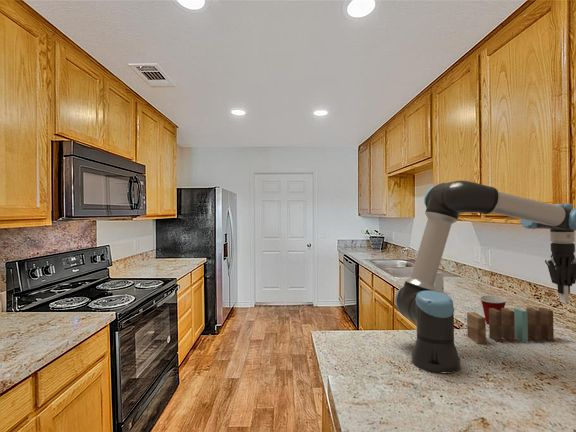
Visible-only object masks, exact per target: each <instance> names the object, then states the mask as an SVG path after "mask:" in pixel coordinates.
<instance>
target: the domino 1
mask: <svg viewBox="0 0 576 432" xmlns="http://www.w3.org/2000/svg"><path fill="white" fill-rule="evenodd" d="M488 330H489V337H488V338H489V339H491V340H492V341H494V342H496V343H502V342H503V338H502V317H501V311H499V310H497V309H495V308H489V324H488Z"/></svg>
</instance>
